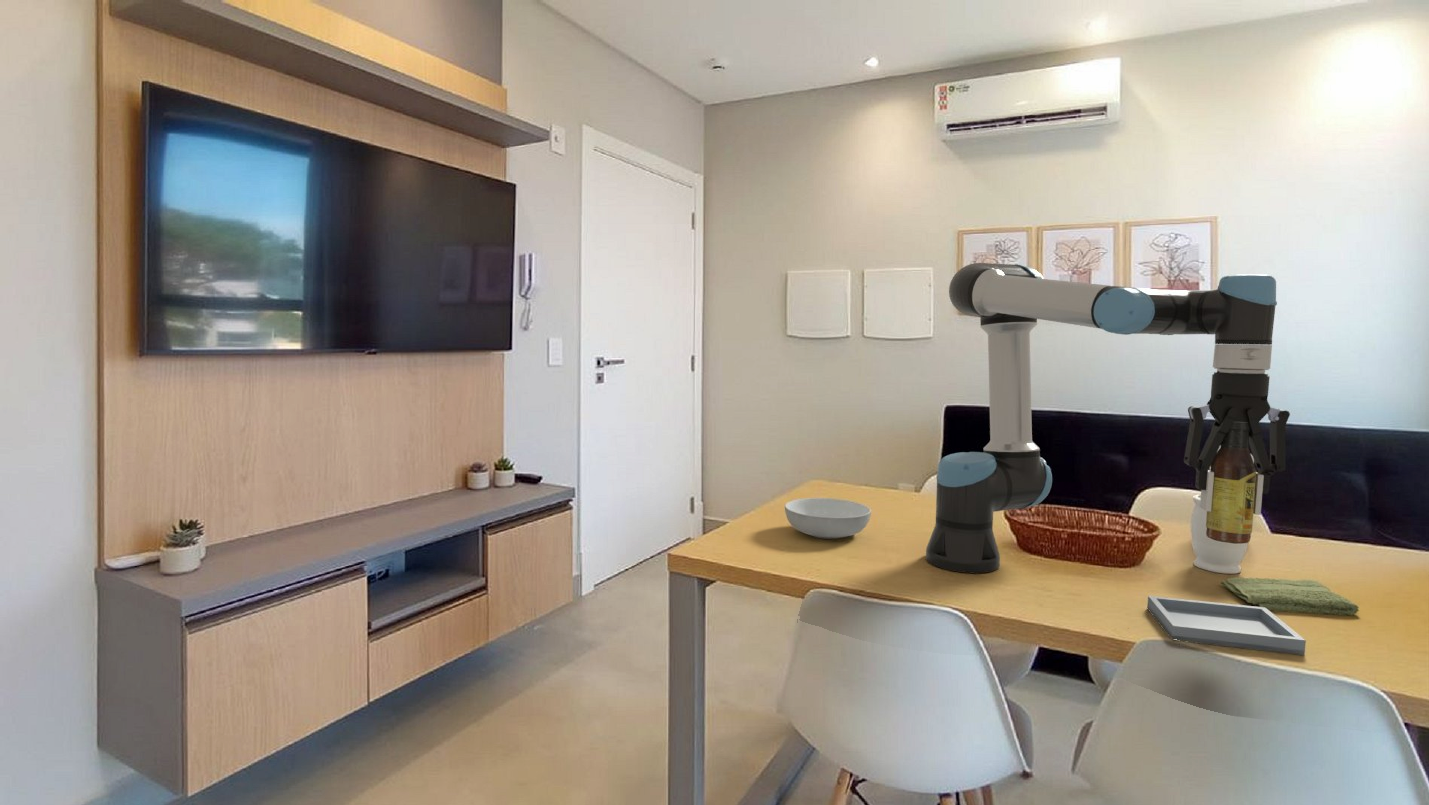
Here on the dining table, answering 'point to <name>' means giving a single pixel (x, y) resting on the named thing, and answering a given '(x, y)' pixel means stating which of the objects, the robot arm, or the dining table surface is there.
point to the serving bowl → (827, 517)
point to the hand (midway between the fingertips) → (1229, 510)
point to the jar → (1213, 546)
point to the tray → (1225, 625)
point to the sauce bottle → (1232, 488)
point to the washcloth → (1290, 595)
